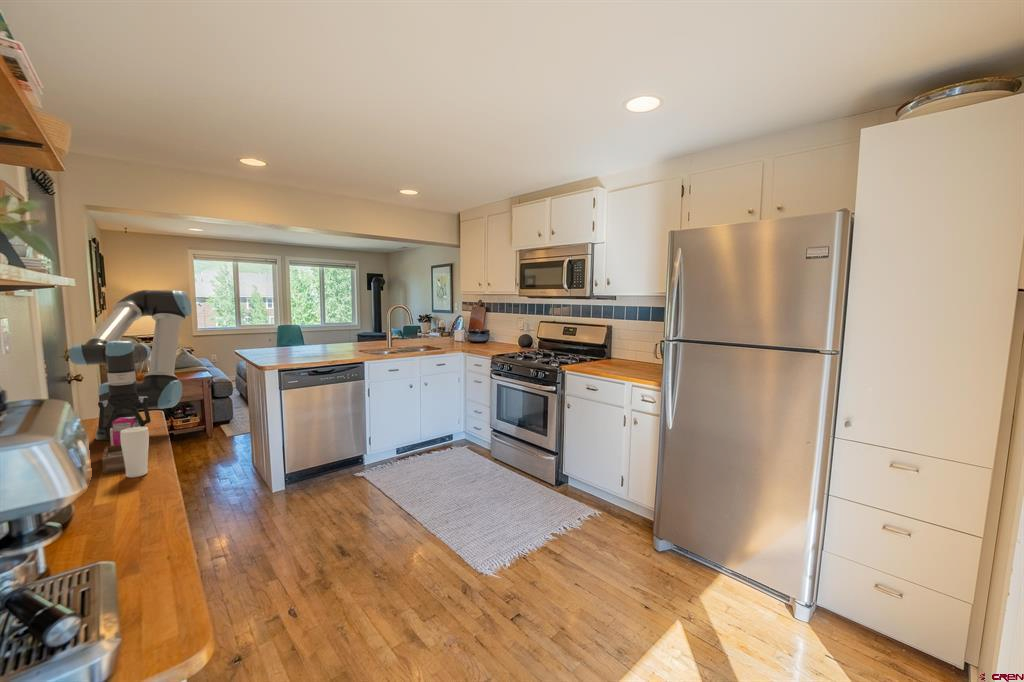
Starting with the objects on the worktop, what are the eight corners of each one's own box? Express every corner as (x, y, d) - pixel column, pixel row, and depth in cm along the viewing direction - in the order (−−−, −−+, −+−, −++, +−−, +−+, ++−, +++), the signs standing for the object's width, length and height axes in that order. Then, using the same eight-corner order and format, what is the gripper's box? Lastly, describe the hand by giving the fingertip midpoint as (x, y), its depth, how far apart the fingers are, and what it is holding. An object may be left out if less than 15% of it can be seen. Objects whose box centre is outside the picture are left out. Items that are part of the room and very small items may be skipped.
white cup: (122, 481, 133) (119, 433, 132) (123, 474, 138) (120, 428, 137) (150, 475, 137) (148, 429, 136) (151, 469, 142) (148, 425, 141)
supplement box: (120, 447, 160) (119, 417, 159) (140, 445, 162) (139, 416, 161) (112, 452, 155) (111, 421, 154) (133, 450, 157) (132, 420, 156)
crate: (106, 460, 150) (105, 446, 150) (147, 453, 157) (146, 440, 157) (103, 474, 138) (102, 459, 137) (147, 466, 145) (147, 451, 145)
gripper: (82, 388, 147) (88, 453, 149) (157, 381, 160) (161, 441, 162) (85, 384, 152) (90, 447, 155) (157, 378, 165) (161, 436, 168)
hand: (126, 444), depth 158 cm, fingers closed on supplement box, 7 cm apart
